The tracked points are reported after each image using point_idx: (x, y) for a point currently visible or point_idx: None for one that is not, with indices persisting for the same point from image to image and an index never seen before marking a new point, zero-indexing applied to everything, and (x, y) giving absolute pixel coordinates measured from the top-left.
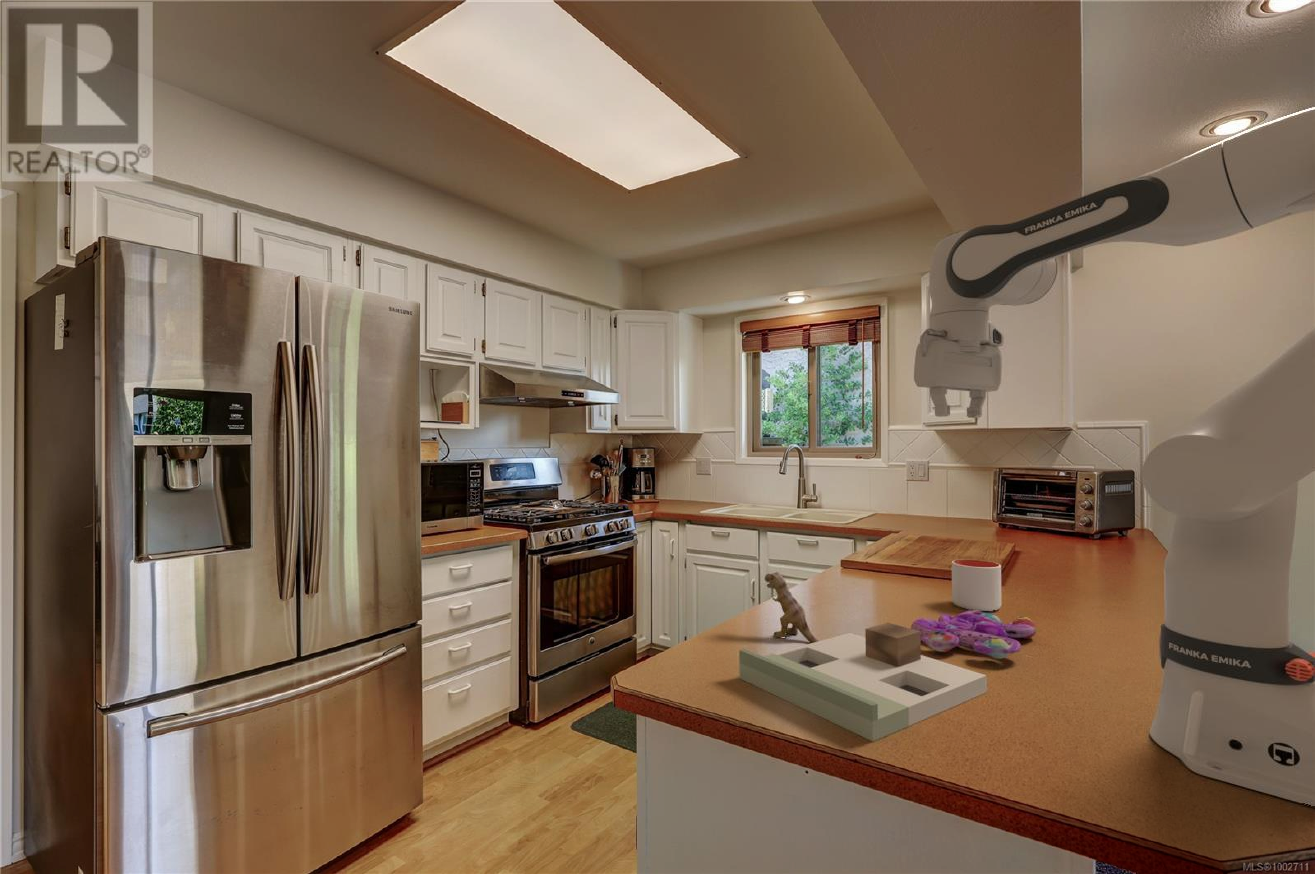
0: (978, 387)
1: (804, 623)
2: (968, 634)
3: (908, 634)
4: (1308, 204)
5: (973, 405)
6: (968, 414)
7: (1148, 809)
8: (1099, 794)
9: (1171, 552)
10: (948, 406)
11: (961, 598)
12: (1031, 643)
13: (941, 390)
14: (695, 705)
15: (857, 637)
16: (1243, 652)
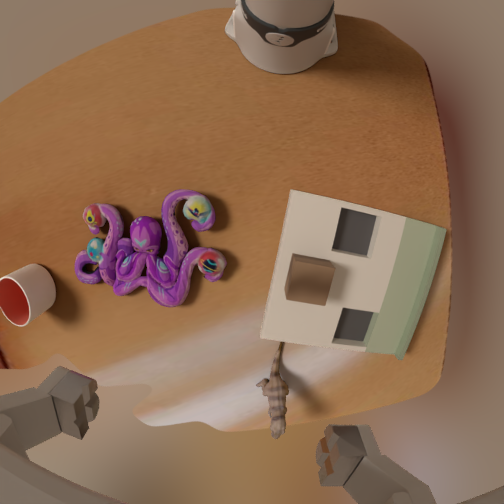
0: (49, 476)
1: (277, 376)
2: (182, 243)
3: (314, 265)
4: None
5: (50, 423)
6: (94, 412)
7: (401, 76)
8: (405, 97)
9: None
10: (354, 451)
11: (51, 298)
12: (111, 202)
13: (431, 501)
14: (445, 335)
15: (269, 326)
16: None
